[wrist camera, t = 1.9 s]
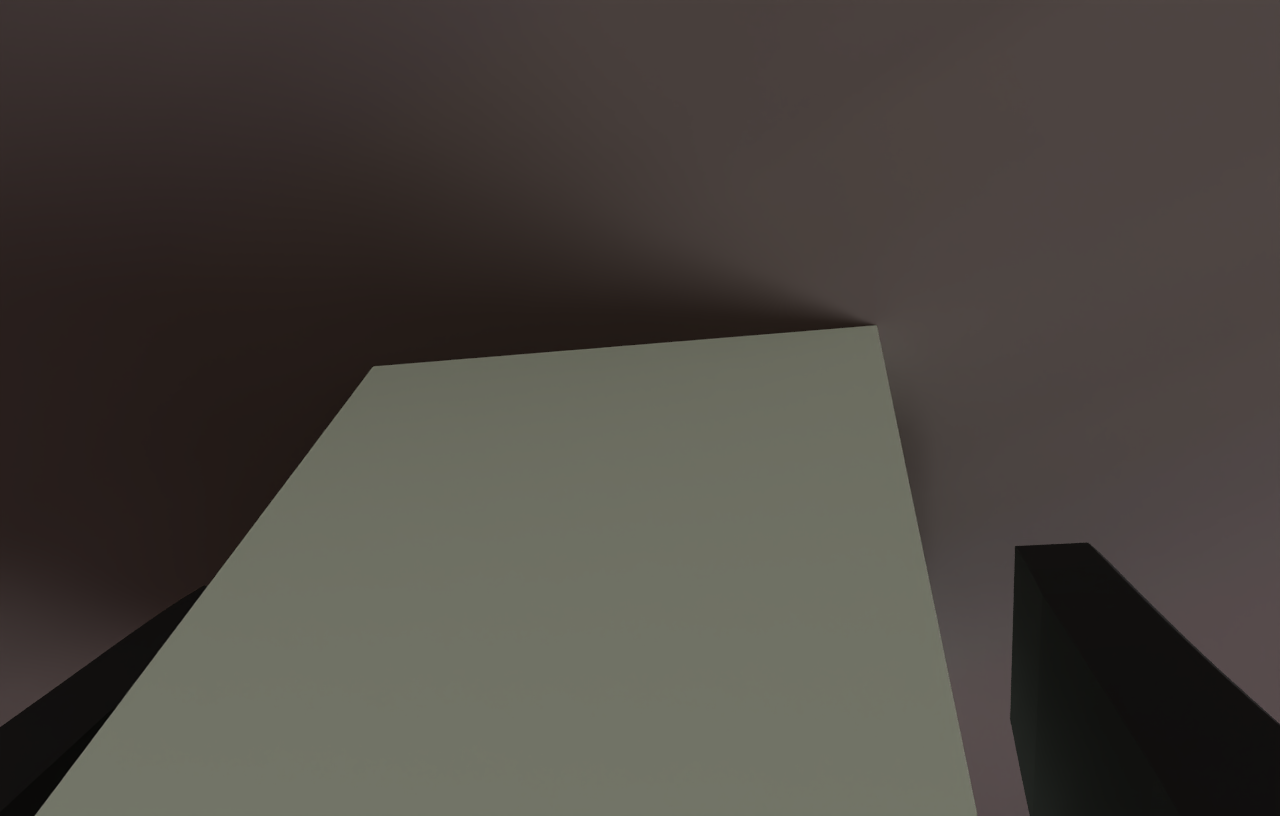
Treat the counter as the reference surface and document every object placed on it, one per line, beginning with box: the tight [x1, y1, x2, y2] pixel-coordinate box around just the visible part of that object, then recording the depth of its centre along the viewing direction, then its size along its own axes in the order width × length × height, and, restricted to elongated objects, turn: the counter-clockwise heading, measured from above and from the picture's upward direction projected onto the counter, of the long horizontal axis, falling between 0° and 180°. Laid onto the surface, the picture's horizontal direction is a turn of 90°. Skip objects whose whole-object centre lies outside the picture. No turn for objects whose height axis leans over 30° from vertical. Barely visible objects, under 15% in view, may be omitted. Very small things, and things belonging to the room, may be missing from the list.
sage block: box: [35, 325, 977, 816], centre depth 9 cm, size 5×5×6 cm
